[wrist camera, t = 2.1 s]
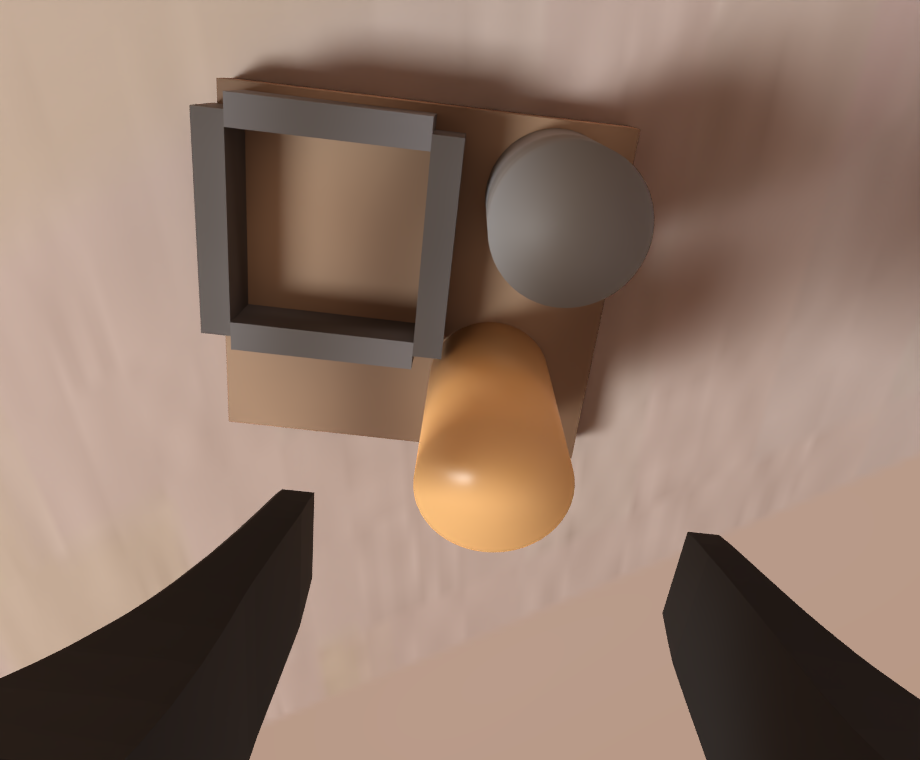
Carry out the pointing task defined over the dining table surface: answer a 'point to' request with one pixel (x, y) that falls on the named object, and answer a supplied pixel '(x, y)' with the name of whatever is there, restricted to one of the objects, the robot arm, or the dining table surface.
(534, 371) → the orange capsule
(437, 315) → the housing
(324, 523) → the dining table surface
